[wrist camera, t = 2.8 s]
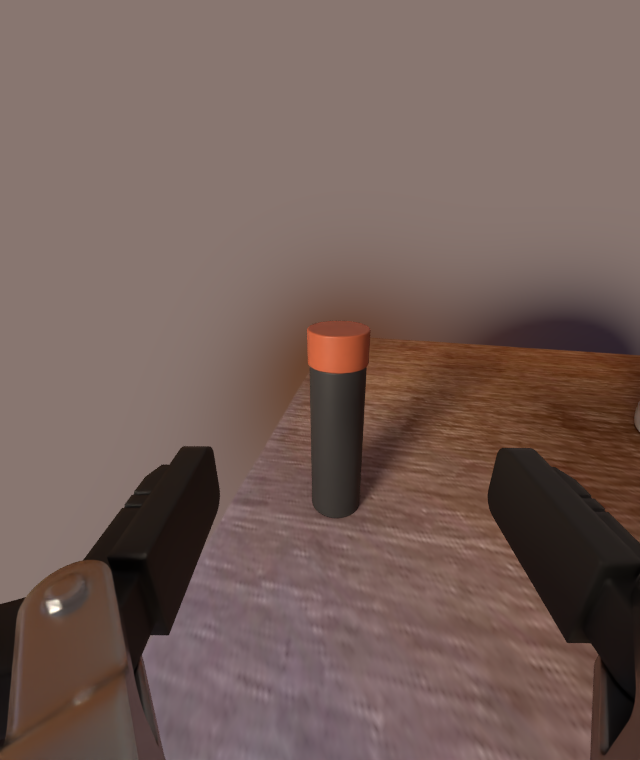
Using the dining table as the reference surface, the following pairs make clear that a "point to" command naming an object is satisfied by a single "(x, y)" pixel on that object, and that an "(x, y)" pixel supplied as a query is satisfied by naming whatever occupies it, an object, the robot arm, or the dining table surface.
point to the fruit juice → (637, 417)
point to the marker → (337, 413)
